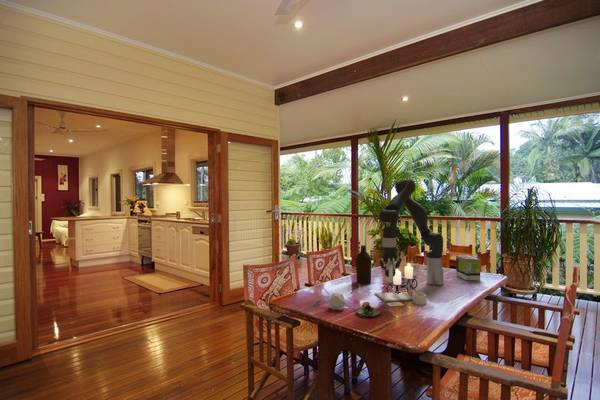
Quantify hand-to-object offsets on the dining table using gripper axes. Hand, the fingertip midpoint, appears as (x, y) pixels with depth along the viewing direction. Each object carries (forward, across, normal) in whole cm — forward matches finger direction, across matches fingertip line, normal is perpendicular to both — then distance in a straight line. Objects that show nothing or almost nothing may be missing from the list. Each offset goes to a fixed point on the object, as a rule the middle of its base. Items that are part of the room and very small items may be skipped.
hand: (390, 276), depth 182 cm
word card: (+13, +1, +8) cm, 16 cm away
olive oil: (+13, +2, -37) cm, 40 cm away
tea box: (+14, -72, -33) cm, 80 cm away
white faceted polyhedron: (+13, +33, +9) cm, 37 cm away
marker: (+5, 0, 0) cm, 5 cm away
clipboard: (+13, -5, -3) cm, 14 cm away
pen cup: (+13, -13, +8) cm, 20 cm away
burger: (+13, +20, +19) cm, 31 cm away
